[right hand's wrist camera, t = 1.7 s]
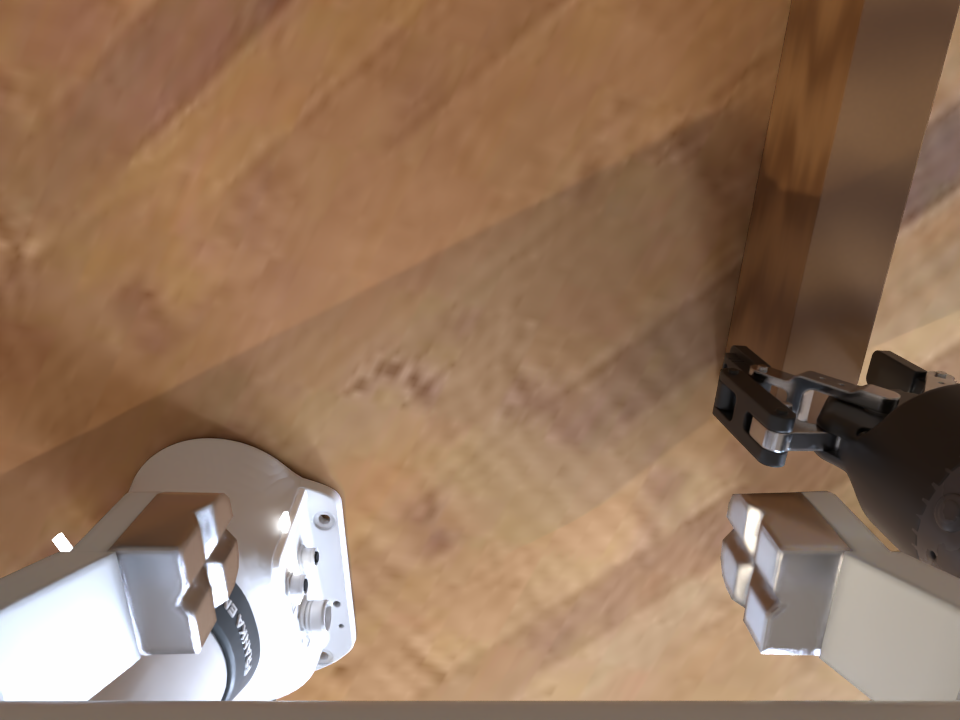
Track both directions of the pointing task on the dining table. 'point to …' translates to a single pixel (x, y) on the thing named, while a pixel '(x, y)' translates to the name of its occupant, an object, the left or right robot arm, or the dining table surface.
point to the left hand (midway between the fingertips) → (804, 363)
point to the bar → (836, 180)
